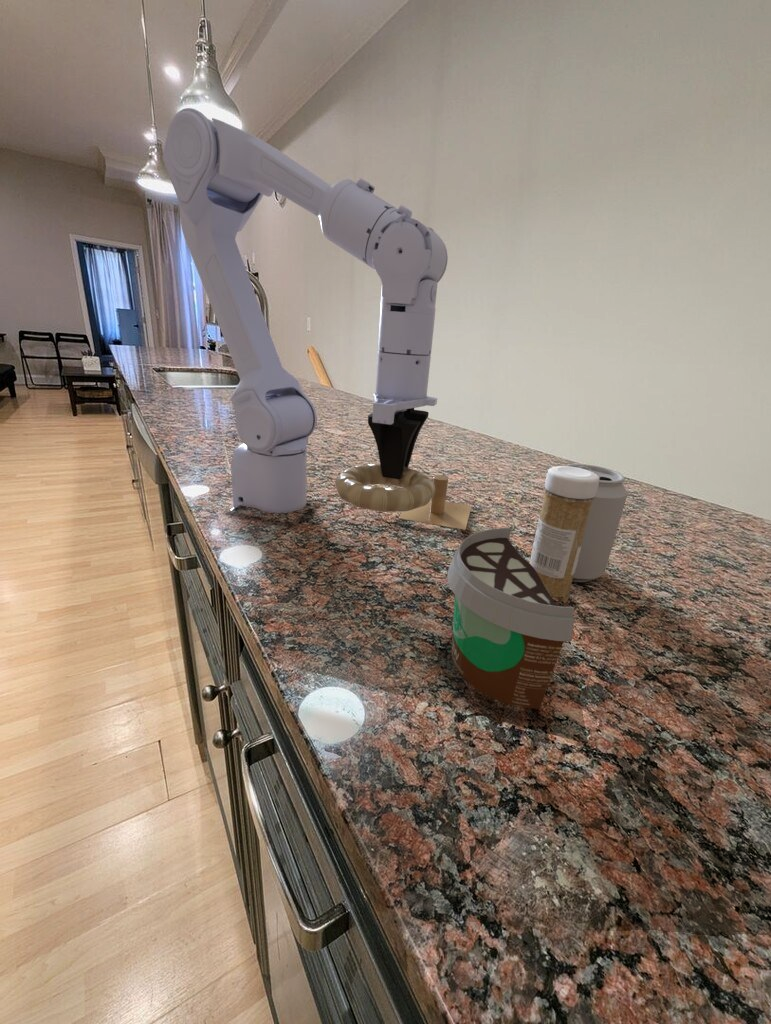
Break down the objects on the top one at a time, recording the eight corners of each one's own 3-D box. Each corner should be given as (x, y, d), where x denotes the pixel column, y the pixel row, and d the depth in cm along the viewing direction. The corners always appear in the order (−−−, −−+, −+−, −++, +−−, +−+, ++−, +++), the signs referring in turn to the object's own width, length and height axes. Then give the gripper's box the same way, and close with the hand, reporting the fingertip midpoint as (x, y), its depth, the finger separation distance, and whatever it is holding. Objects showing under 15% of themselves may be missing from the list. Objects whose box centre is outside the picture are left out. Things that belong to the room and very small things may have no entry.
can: (571, 591, 47) (599, 485, 43) (521, 559, 53) (541, 463, 49) (617, 578, 51) (648, 478, 46) (565, 549, 57) (588, 458, 52)
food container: (424, 623, 41) (436, 523, 37) (489, 623, 41) (508, 525, 37) (454, 739, 29) (476, 612, 25) (544, 737, 30) (579, 613, 26)
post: (397, 526, 60) (401, 482, 58) (411, 503, 68) (415, 464, 66) (464, 537, 58) (471, 493, 56) (470, 513, 66) (477, 473, 64)
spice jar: (577, 600, 46) (611, 475, 41) (548, 612, 43) (581, 482, 38) (541, 579, 49) (568, 462, 44) (512, 589, 47) (538, 467, 42)
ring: (320, 504, 46) (320, 482, 45) (355, 475, 56) (355, 457, 55) (421, 522, 44) (424, 499, 43) (439, 488, 54) (442, 469, 53)
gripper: (428, 359, 40) (414, 499, 46) (450, 353, 53) (438, 462, 59) (354, 353, 42) (349, 488, 47) (394, 349, 55) (386, 455, 60)
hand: (394, 473), depth 53 cm, fingers closed on ring, 2 cm apart
